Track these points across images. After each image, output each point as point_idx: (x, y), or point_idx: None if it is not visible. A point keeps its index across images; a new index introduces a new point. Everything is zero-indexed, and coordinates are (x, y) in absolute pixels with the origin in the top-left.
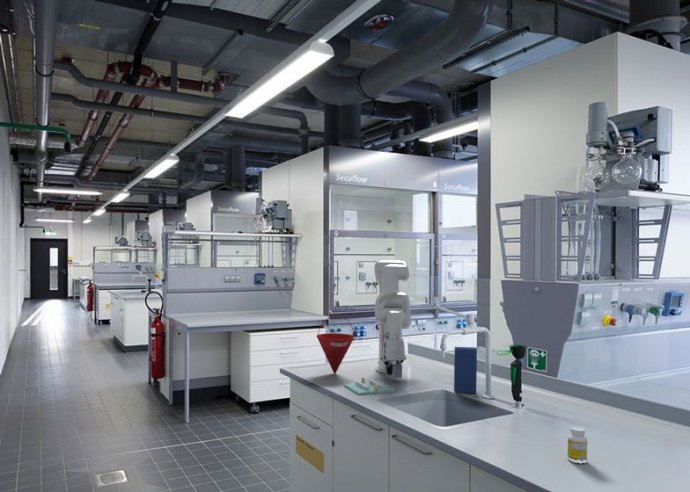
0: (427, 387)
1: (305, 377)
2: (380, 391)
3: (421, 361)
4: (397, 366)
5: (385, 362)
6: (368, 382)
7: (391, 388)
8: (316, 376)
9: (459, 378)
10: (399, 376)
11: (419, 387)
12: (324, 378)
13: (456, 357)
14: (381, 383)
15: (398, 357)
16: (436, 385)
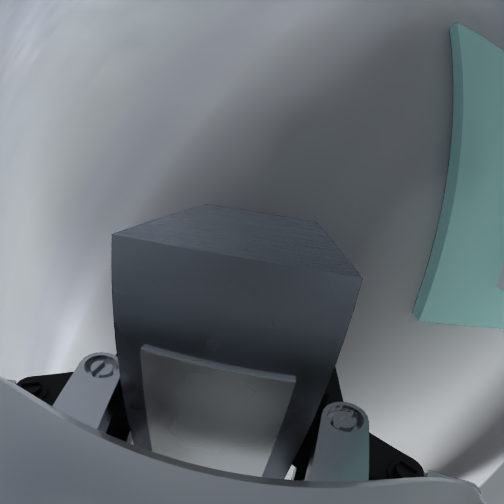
0: (130, 7)
1: (498, 463)
2: None
3: None
4: (268, 256)
5: (414, 472)
6: (500, 309)
7: (476, 53)
8: (472, 474)
9: None
10: (239, 212)
11: (181, 14)
12: (486, 453)
13: None
14: (465, 229)
15: (64, 492)
16: (52, 50)
